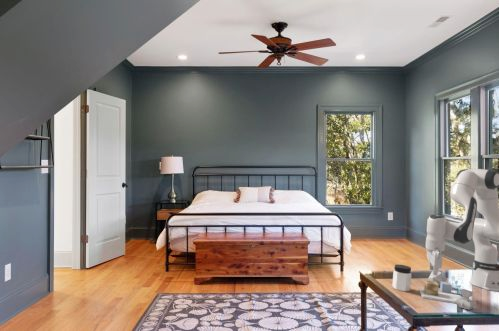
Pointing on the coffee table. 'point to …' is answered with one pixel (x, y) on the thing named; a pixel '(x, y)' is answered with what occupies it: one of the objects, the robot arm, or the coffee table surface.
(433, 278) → the die
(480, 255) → the robot arm
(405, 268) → the jar
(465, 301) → the stamp
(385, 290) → the coffee table surface
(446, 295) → the board
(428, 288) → the block oak
